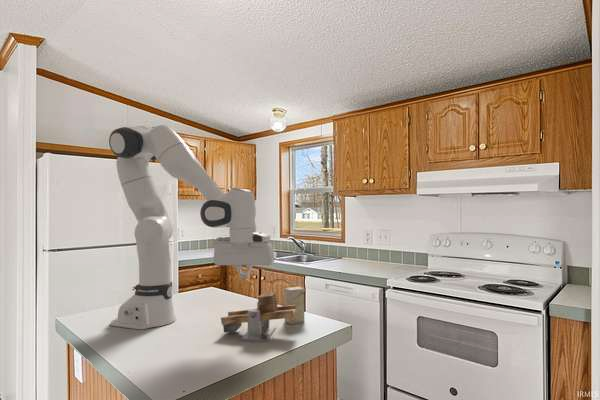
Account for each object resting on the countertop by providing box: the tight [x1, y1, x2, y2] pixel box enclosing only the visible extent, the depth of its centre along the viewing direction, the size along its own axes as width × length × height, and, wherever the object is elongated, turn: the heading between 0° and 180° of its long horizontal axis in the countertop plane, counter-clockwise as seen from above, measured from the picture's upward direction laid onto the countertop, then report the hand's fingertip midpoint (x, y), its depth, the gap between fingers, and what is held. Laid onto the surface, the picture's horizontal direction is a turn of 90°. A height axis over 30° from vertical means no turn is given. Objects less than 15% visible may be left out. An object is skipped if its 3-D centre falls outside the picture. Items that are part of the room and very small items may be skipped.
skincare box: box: [284, 286, 305, 325], centre depth 135 cm, size 6×4×12 cm
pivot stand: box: [240, 301, 277, 343], centre depth 121 cm, size 8×13×9 cm, turn 170°
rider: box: [257, 292, 279, 313], centre depth 121 cm, size 5×5×6 cm
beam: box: [220, 305, 297, 333], centre depth 121 cm, size 24×8×6 cm, turn 80°
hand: (244, 278), depth 122 cm, fingers closed
